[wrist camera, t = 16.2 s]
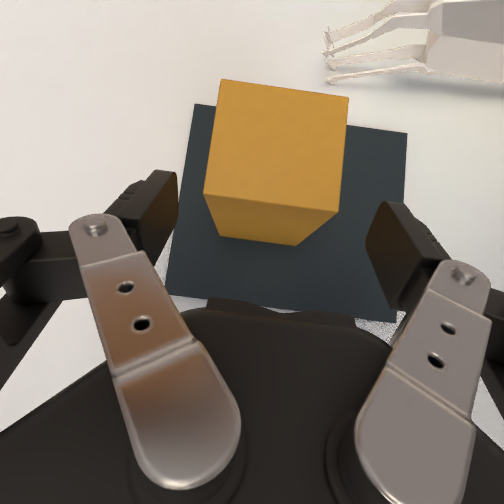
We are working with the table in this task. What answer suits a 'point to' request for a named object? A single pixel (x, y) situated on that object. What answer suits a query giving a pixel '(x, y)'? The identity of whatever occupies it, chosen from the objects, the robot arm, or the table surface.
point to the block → (274, 161)
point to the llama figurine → (433, 39)
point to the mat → (286, 256)
